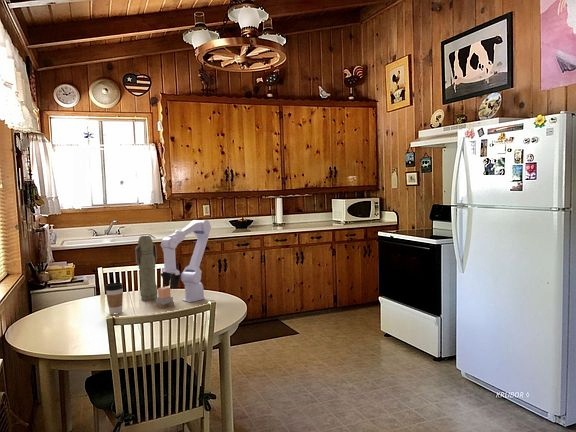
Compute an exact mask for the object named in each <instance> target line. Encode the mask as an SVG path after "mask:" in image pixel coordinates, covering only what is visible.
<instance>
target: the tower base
mask: <svg viewBox="0 0 576 432" xmlns="http://www.w3.org/2000/svg"><path fill="white" fill-rule="evenodd" d="M154 306H155V307H156V308H158V309H162V310H163V309H168V308H171V307H175V302H174V301H173V302H170V303H167V304H159V303H156V302H155V304H154Z"/></svg>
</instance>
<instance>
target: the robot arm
mask: <svg viewBox="0 0 576 432" xmlns="http://www.w3.org/2000/svg"><path fill="white" fill-rule="evenodd" d="M211 228H212V226H211V222H210V221H209V220H207V219H206V220H205V219H203V220H199V219H198V220H197V219H193V220H192V221H190V222H189V224H187V225H186V226H185V227H184V228H182V230H179V229H177V230H175V231H174V232H173V233H172V234H169V235H168V237H164V238H162V240H161V243H160V247H161V249H162V252H163V265H164V267H161V273H160V274H159V275H160V277H162V280H163V284H164V287H170V286H172V290H173V289H178V285H179V282H180V281H179V280H181V281H182V283H183V285H184V293H185V294H184V295H185V296H184V297H185V298H182V301H184V302H188V303H193V302H197V301H201V300H202V301H203V300H205V293H204V285H203V283H202V282H201V280H202V273H203V271H202V270H201V268H200V267H201V262H202V261H203V260H202V258H203V256H204V253H205V249H206V247H207V243H208V240H209V235H210V232H211ZM191 233H193V235H195V237H196V238H197V240H196V242H195V246H194V249H193V253H192V255H191V258H190V261H189V264H188V265H187V266H185V267H184V270H183V271H182V272H181V273H180V270H178V269H177V261H176V248H177V246H178V245H179V244H180V243H181V242H183V241H184V240H185V239H186V236H187V235H189V234H191Z"/></svg>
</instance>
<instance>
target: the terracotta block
mask: <svg viewBox="0 0 576 432" xmlns="http://www.w3.org/2000/svg"><path fill="white" fill-rule="evenodd" d="M169 297H172V295H171V287H170V286H167V287H166V286H162V287H161V286H160V287H157V298H161V299H165V298H169Z"/></svg>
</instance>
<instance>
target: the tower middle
mask: <svg viewBox="0 0 576 432" xmlns="http://www.w3.org/2000/svg"><path fill="white" fill-rule="evenodd" d="M170 302H174V296H171V297H169V298H165V299H161V298H158V297H157V298H156V299H155V303H159V304H167V303H170Z"/></svg>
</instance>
